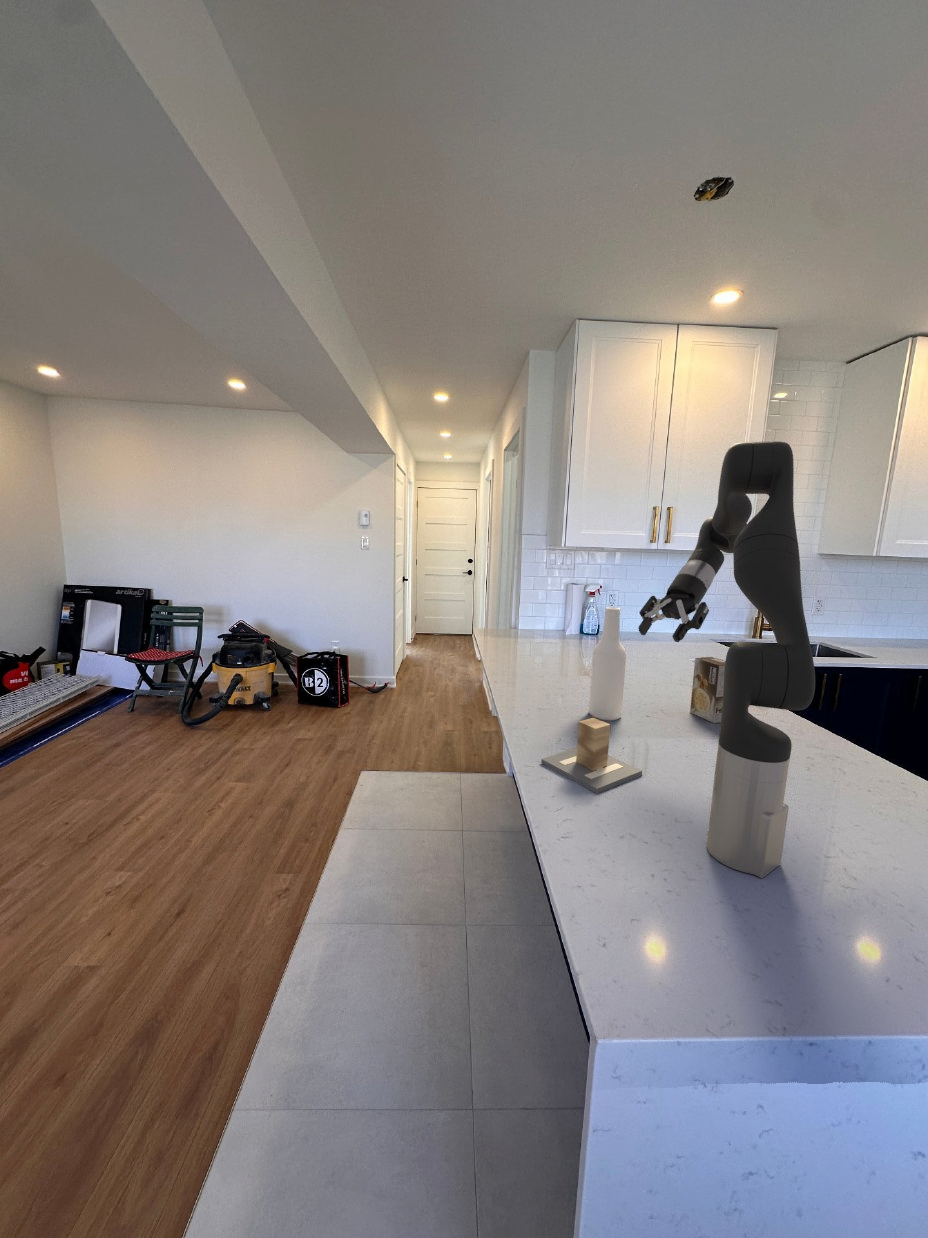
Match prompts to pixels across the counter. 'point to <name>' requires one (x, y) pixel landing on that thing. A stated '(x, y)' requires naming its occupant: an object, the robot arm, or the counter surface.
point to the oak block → (593, 743)
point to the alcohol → (608, 670)
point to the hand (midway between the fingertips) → (657, 636)
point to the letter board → (590, 779)
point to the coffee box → (708, 688)
